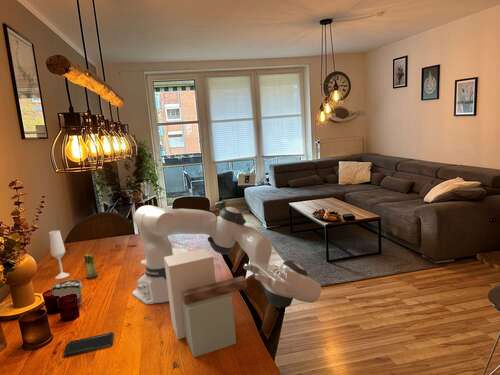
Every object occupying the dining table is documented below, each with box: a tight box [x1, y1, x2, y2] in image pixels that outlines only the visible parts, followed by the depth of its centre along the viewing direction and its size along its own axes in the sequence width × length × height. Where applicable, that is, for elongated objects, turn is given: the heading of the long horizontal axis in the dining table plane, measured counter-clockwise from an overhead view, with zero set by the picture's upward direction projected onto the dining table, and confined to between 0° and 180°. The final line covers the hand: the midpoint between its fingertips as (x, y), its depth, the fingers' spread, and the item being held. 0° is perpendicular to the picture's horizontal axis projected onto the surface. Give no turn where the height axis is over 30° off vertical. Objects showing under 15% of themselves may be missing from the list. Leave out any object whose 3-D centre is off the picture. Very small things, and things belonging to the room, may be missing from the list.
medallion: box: [140, 246, 190, 265], centre depth 195 cm, size 24×27×2 cm
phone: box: [62, 332, 115, 358], centre depth 118 cm, size 8×1×15 cm
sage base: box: [181, 293, 237, 358], centre depth 113 cm, size 14×10×16 cm
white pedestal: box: [164, 248, 217, 340], centre depth 122 cm, size 15×10×26 cm, turn 113°
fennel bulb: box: [83, 254, 98, 279], centre depth 176 cm, size 6×5×12 cm
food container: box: [50, 279, 83, 308], centre depth 148 cm, size 12×6×10 cm, turn 92°
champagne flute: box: [48, 230, 70, 280], centre depth 179 cm, size 7×7×24 cm
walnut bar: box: [181, 275, 248, 305], centre depth 113 cm, size 21×4×3 cm, turn 114°
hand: (249, 270), depth 117 cm, fingers open, 8 cm apart
